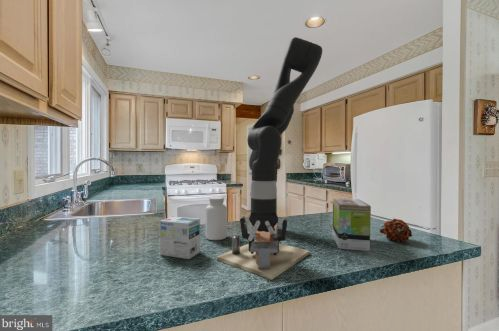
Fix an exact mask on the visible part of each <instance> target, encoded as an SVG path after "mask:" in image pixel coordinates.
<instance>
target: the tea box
mask: <svg viewBox="0 0 499 331" xmlns="http://www.w3.org/2000/svg"><path fill="white" fill-rule="evenodd" d="M371 208H372V207H371V205H370V204H368V203H366V202H364V201H363V200H361V199H359V198H358V199H357V198H356V199H355V198H333V199H332V237H333V239H334V242H335V243H336V246H337V248H338V249H341V250H348V251H349V250H350V251H362V252H363V251H366V252H367V251H368V252H370V251H371V222H372V220H371V217H372V214H371V211H372V210H371Z"/></svg>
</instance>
